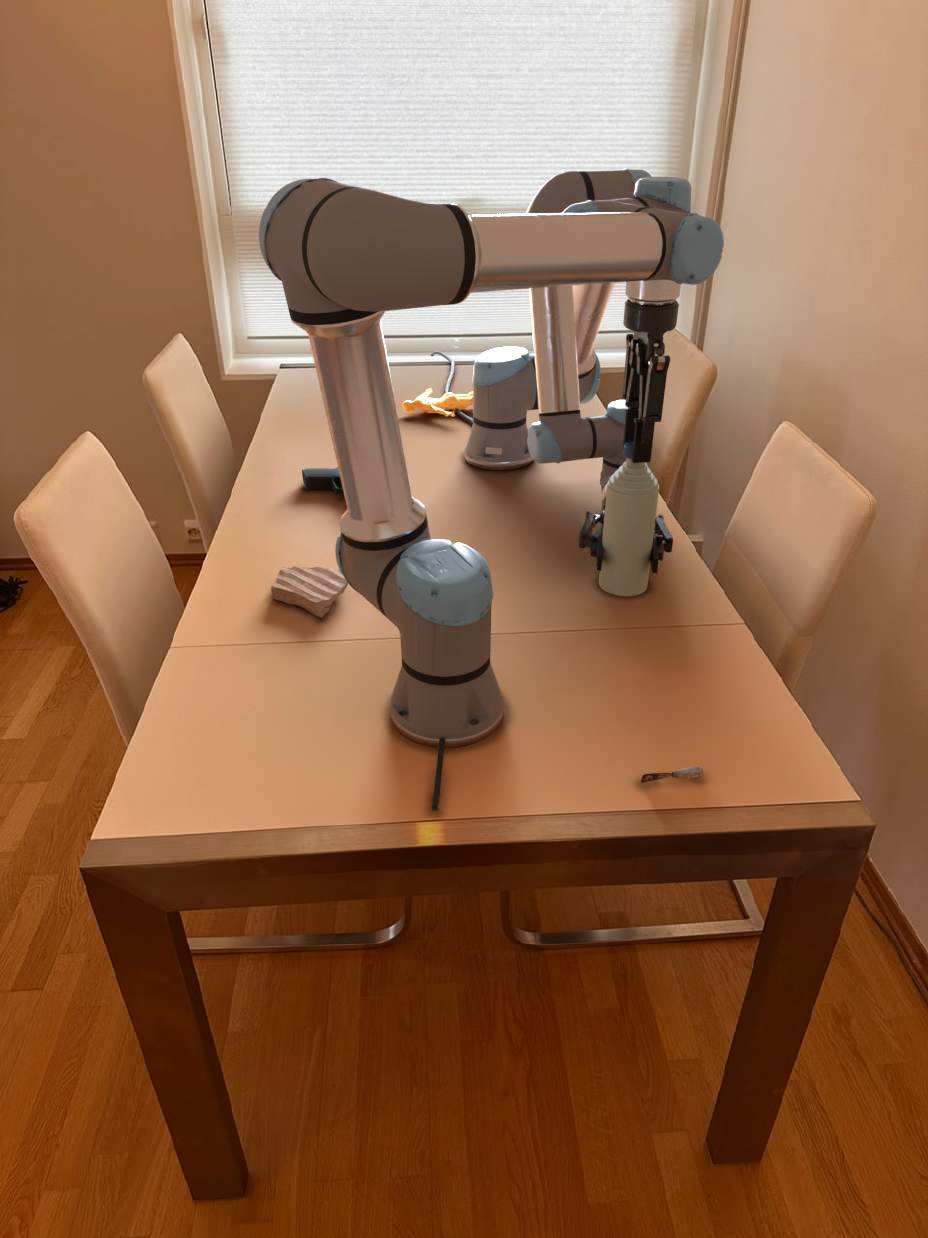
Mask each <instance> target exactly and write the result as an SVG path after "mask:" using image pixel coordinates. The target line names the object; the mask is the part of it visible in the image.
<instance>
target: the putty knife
mask: <svg viewBox="0 0 928 1238" xmlns="http://www.w3.org/2000/svg"><path fill="white" fill-rule="evenodd" d="M704 772H705V771H704V768H702V767H701V766H697V765H695V766H688V767H683V768H679V769H675V770H673V771H671V772H653V773H652V772H651V773H650V772H649V773H644V774H642V776H641V779H640V783H642V784H645V783H648V782H653V781H659V780H665V779H668V778H673V779H674V778H675V779H693V778H694V779H695V778H700V777H702V776H703V775H704Z"/></svg>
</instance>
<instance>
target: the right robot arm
mask: <svg viewBox="0 0 928 1238" xmlns="http://www.w3.org/2000/svg"><path fill="white" fill-rule="evenodd" d="M645 177H653V175H651V174H650V173H649V172H648V171H646V170H645V169H632V168H631V169H630V168H628V167H625V168H623V169H616V170H613V169H611V170H567V171H563V172H559V173H558V174H555V175H553V176H552V177H550V178H549V179H548V180H547V181H546V182H544V184H542V186H540V188H539V189H538V190H537V192H536V193H535V195H534V196H533V198H532V200H531V202H530V204H529V205H528V208H527V210H526V212H525V214H560V213H563V212H564V210H565V209H566V208H568V207H569V206H570V205H573V204H578V203H583V202H586V201H588V200H591V201H601V200H613V199H626V198H631V197H633V193H634V192H635V186H636V183H637V181H638V180H639V179H641V178H645ZM615 284H616V283H602V284H587V285H573V286H559V287H545V288H531V289H529V290H528V291H529V303H530V304H529V305H530V316H531V328H532V329H531V330H532V342H533V343H532V344H533V353H529V351H528V349H526V348H524V347H521V346H501V347H495V348H492V349H489V350H486V351H484V352H482V353H481V354H479V355H478V356H477V357H476V358H475V360H474V362H473V369H472V370H473V371H472V378H471V382H472V392H473V405H472V417H470V416H469V415H466V414H465V413H463V412H462V410H458V409H455V410H453V411H455V412H454V413H456V414H457V415H458V416H459V417H461V418H462V419H464V420H465V421H467V422H468V423H470V424H472V426H471V428H470V431H469V435H468V438H467V441H466V444H465V448H464V459H465V461H466V462H467V463H468V464H470V465H471V466H474V467H476V468H479V469H483V470H490V471H510V470H515V469H516V470H517V469H520V468H523V467H526V466H528V465H530V464H531V463H533V462H535V463H537V464H538V465H543V464H561V463H564V462H572V461H581V460H589V459H599V458H602V466H601V471H600V478H599V484H600V488H601V512H600V513H599V514H595V513H594V512H592V511H591V510H586V511H585V513H584V523H583V525H582V527H581V529H580V532H579V538H578V548H579V549H586V548H588V549H589V550H588V554H589V556H590V558H595V559H596V561H595V563H596V564H595V565H596V572H597V571H598V572H600V571H601V568H602V557H603V554H602V538H603V526H604V515H605V503H606V492H607V483H608V481H609V480H610V477H611V476H612V475H613V474H614V473H615V471H617V470H618V469H619V467H620V466H622V465H623V463H624V462H625V461H626V457H625V456H624V455H623V438H624V428H625V417H626V409H628V407H626V405H625V401H626V399H625V400H624V399H618V400H615V401H611V402H609V403H608V405H607V406H606V411H605V415H595V416H585V417H582V414H581V405H585V404H588V403H589V402H591V401H592V400H593V399H594V397H595V396H596V394H597V392H598V390H599V386H600V383H601V379H600V376H601V372H602V371H601V370H602V369H601V363H600V358H599V357H598V355H597V354H596V353H597V352H596V351H595V349H594V347H595V343H596V340H597V337H598V334H599V331H600V329H601V326H602V322H603V319H604V317H605V314H606V311H607V308H608V305H609V302H610V299H611V296H612V293H613V291H614V287H615ZM435 355H438V356H441V357H442V358H443V359H446V360H447V362H450V372H449V374H448V379H447V381H446V384H445V389H444V394H446V393H450V387H451V383H452V380H453V377H454V374H455V366H456V364H455V361H454V359H452V357H450V356H449V355H448V354H446V353H444V352H442V351H439V350H433V351H432V352H431V354H430V356H429V357H434V356H435ZM536 410H538V420H537V421H536V422H533V423H531V424H530V425H529V426H527V415H528V412H529V411H536ZM664 518H665V516H664V514H659V513H658V514H656V519H655V528H654V536H653V544H652V552H651V561H650V567H651V574H655V575H657V574H658V569H659V561H663V560H664V555H665V553H666V554H667V553H668V554H670V553H672V552H673V546H674V545H673V544H674V537H673V535H672V533H671V531H670V530H669V528H668V526H667V525H666V523H665V521H664ZM598 523H599V524H600V526H599V527H598V528H597V529H596V530H594V528H596V525H598ZM593 530H594V532H593Z"/></svg>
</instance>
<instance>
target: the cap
mask: <svg viewBox="0 0 928 1238" xmlns="http://www.w3.org/2000/svg"><path fill="white" fill-rule="evenodd" d="M633 444H634V441H631V442H627V443H625V444H624V449H623V455H624V456H625V457H626V458H629V459H632V454H633Z"/></svg>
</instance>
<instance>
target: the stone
mask: <svg viewBox="0 0 928 1238" xmlns="http://www.w3.org/2000/svg"><path fill="white" fill-rule="evenodd" d="M348 586H349V584H348V582H347V581H346V579H345V578H344V576H343V575H342V573H341V571H340V569H335V568H331V567H329V566H314V567H307V566H302V565H301V566H299V565H297V566H295V565H294V566H292V567H282V568H280V569H279V573H278V574H277V577H276V580H275V583H274V584H273V585H272V586H271V587H270V592H271V593H270V598H271V599H274V600H276V601H279V602H283V603H286V604H288V605H294V606H297V607H301V608H303V609H304V610H306V611H308V612H309V613H310V614H312V615H314V616H315V617H317V618H321V619H322V618H323V617H324V616H325V615H326V614H328V613H329V612H330V610H331V607H332V604H333V603H334V601H335V600H337V599H338V597H339V596H340V595H342V594H343V593H344V592H345V590H346V589H347V587H348Z"/></svg>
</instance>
